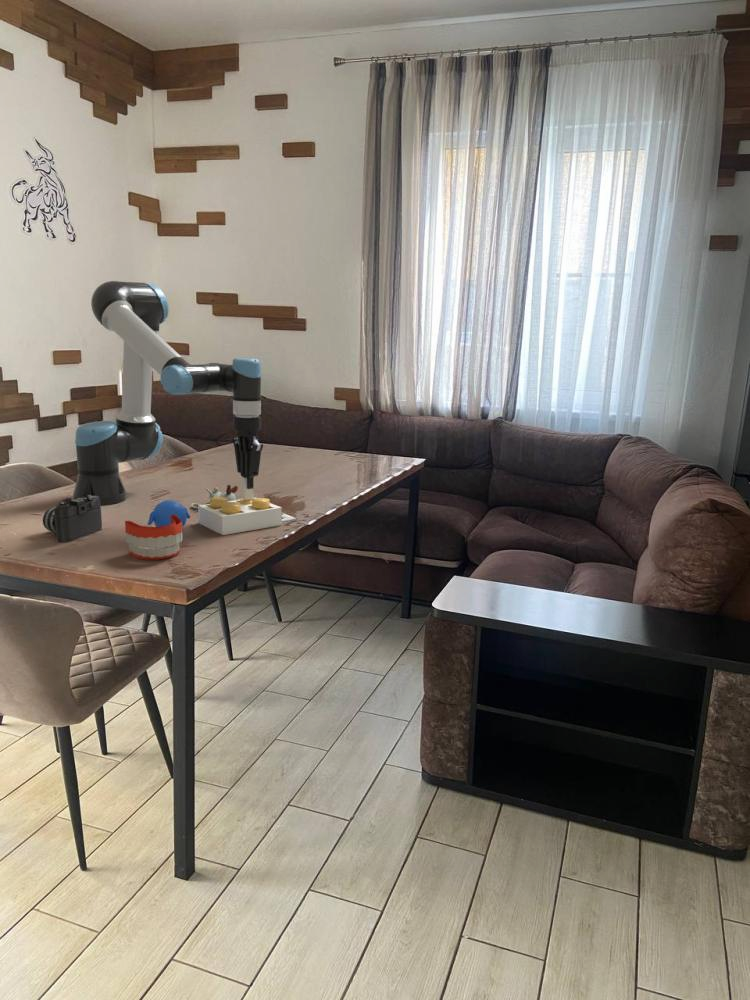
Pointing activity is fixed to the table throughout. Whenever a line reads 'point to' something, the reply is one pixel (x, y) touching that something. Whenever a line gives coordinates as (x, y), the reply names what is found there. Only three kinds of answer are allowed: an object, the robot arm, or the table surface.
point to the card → (287, 518)
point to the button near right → (260, 503)
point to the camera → (74, 518)
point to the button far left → (217, 502)
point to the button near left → (231, 508)
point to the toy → (154, 540)
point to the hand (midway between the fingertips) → (247, 499)
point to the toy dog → (221, 495)
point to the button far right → (245, 502)
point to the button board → (239, 518)
